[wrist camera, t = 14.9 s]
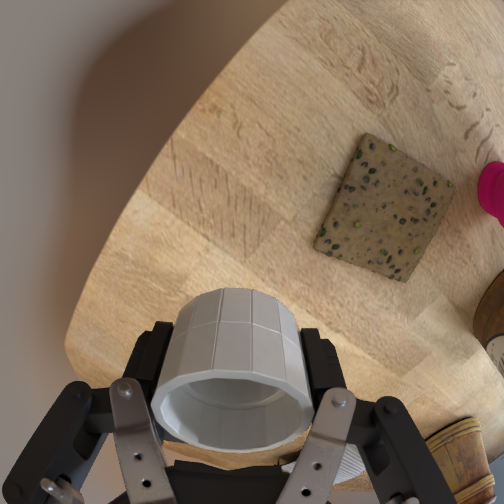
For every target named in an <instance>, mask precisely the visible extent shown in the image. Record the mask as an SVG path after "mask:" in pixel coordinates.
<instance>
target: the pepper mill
mask: <svg viewBox="0 0 504 504" xmlns="http://www.w3.org/2000/svg"><path fill="white" fill-rule="evenodd" d="M478 199H479V202H480V205H481V207H482V208H483V209H484V211H486V212H487V213H489V214H490V215H492V216H494V217H496V218H497V219H498V221H499V223H500V224H501V226H502V227H503V228H504V163H502V162H499V161H495V162H492V163H490V164H489V165H488V166H486V168H485V169H484V170H483V172H482V174H481V177H480V180H479V184H478Z"/></svg>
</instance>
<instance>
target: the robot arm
mask: <svg viewBox="0 0 504 504" xmlns="http://www.w3.org/2000/svg"><path fill="white" fill-rule="evenodd" d="M172 329H173V323H172V322H162V321H156V323H155V325H154V328H153V330H152V331H145V332H144V333H142V334H141V335H140V336H139V337H138V339H137V342H136V344H135V347H134V349H133V351H132V354H131V356H130V359H129V361H128V364H127V366H126V369H125V371H124V374H123V376H122V378H120V379H117V380H116V381H114V382H113V383H112V384H111V386H110V387H108V388H99V389H91V388H90V386H89V385H88V384H87V383H85V382H83V381H74V382H72V383H69V384H68V385H67V386H66V387H65V388H64V390H63V391H62V392H61V394H60V395H59V397H58V398H57V399H56V401H55V402H54V404H53V405H52V407H51V408H50V410H49V411H48V413H47V414H46V416H45V417H44V419H43V420H42V422H41V423H40V425H39V426H38V428H37V429H36V431H35V432H34V434H33V435H32V437H31V439H30V440H29V442H28V443H27V445H26V447H25V448H24V450H23V451H22V453H21V455H20V456H19V458H18V460H17V461H16V463H15V465H14V466H13V468H12V470H11V471H10V473H9V475H8V476H7V478H6V480H5V482H4V484H3V486H2V493H3V497H4V499H5V501H6V502H7V503H8V504H84V499H83V496H82V494H81V493H80V492H79V491H80V489H81V487H82V485H83V482H84V481H85V479H86V477H87V475H88V473H89V471H90V469H91V467H92V465H93V463H94V461H95V459H96V457H97V455H98V453H99V451H100V449H101V447H102V445H103V444H104V442H105V440H106V438H107V436H108V434H109V433H113V435H114V441H115V446H116V451H117V455H118V459H119V464H120V468H121V472H122V475H123V479H124V483H125V487H126V491H125V492H124V493H122V494H121V495H120V496H118V497H117V498H115V499H114V500H113V501H111V502H110V503H108V504H331V503H330V502H329V501H328V500H327V499H328V497H329V494H330V491H331V489H332V486H333V484H334V481H335V478H336V475H337V472H338V470H339V467H340V464H341V461H342V458H343V455H344V452H345V448H346V443H347V444H353V445H356V447H357V449H358V452H359V454H360V456H361V459H362V461H363V463H364V466H365V468H366V471H367V473H368V475H369V478H370V480H371V482H372V485H373V487H374V490H375V492H376V494H377V497H378V499H379V502H380V504H458V503H457V501H456V499H455V497H454V495H453V493H452V491H451V490H450V488H449V486H448V484H447V482H446V480H445V478H444V476H443V474H442V472H441V470H440V468H439V467H438V465H437V463H436V461H435V459H434V457H433V455H432V454H431V452H430V450H429V448H428V446H427V445H426V443H425V441H424V439H423V437H422V436H421V434H420V432H419V430H418V428H417V427H416V425H415V423H414V421H413V420H412V418H411V416H410V415H409V413H408V411H407V409H406V408H405V406H404V404H403V403H402V402H401V401H400V400H399V399H397V398H395V397H392V396H384V397H381V398H380V399H378V400H377V402H376V403H375V402H369V401H364V400H360V399H357V398H355V396H354V394H353V393H352V392H351V391H349V390H347V387H346V384H345V380H344V377H343V373H342V370H341V366H340V363H339V360H338V357H337V353H336V349H335V346H334V345H333V344H332V343H331V342H330V341H329V339H320V335H319V331H318V329H317V328H302V329H301V331H300V333H301V338H302V343H303V348H304V354H305V359H306V364H307V370H308V375H309V381H310V386H311V392H312V398H313V404H314V409H315V413H314V416H313V419H312V421H311V422H312V427H311V429H310V431H309V434H308V436H307V438H306V441H305V443H304V445H303V448H302V450H301V452H300V455H299V457H298V459H297V461H296V463H295V466H294V468H293V470H292V472H291V473H287V472H283V471H282V466H281V465H277V466H251V467H246V468H241V469H235V470H228V471H227V470H223V469H219V468H216V467H212V466H209V465H206V464H203V463H198V462H189V461H181V460H175V462H174V466H169V465H168V462H167V460H166V457H165V455H164V452H163V449H162V446H161V443H160V440H159V437H158V434H157V430H156V427H155V424H154V421H153V418H154V413H153V411H152V408H151V405H150V403H151V399H152V396H153V392H154V389H155V385H156V382H157V378H158V375H159V372H160V368H161V365H162V362H163V358H164V355H165V352H166V348H167V345H168V342H169V339H170V336H171V332H172Z"/></svg>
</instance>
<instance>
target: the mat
mask: <svg viewBox="0 0 504 504" xmlns="http://www.w3.org/2000/svg"><path fill="white" fill-rule="evenodd" d="M279 460H280V458H279ZM279 460H278V465H279ZM296 461H297V459H296V460H294V461H291V462H288V463H286V464H282V465H281V466H282V470H284V471H286V472H289V473H291V472H292V470H293V468H294V466H295V463H296ZM274 466H277V465H275V464H274ZM365 470H366V468H365V466H364V463H363V461H362V459H361V456H360V454H359V452H358V449H357V447H356V445H353V444H347V443H346V448H345V452H344V455H343V458H342V461H341V464H340V467H339V470H338V472H337V475H336V478H335V481H334V484H337V483H340V482H343V481H345V480H348V479H351V478H354V477H356V476H358V475H359V474H361V473H362V472H363V471H365ZM334 484H333V485H334Z"/></svg>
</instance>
